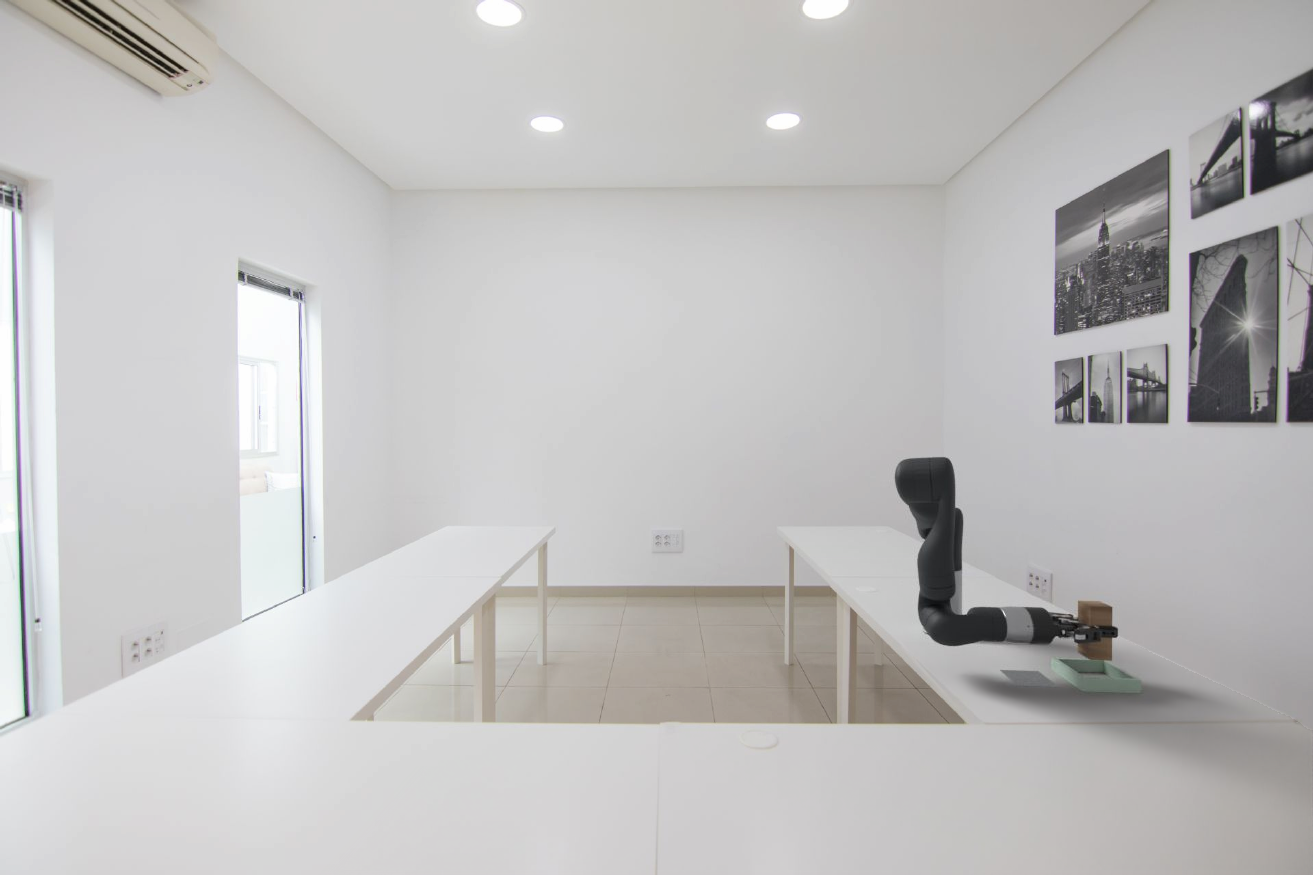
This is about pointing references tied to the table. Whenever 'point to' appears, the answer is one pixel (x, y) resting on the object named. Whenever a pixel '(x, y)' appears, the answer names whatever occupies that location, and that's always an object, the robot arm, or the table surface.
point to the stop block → (1097, 616)
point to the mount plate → (1028, 678)
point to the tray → (1117, 683)
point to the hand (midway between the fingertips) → (1108, 628)
